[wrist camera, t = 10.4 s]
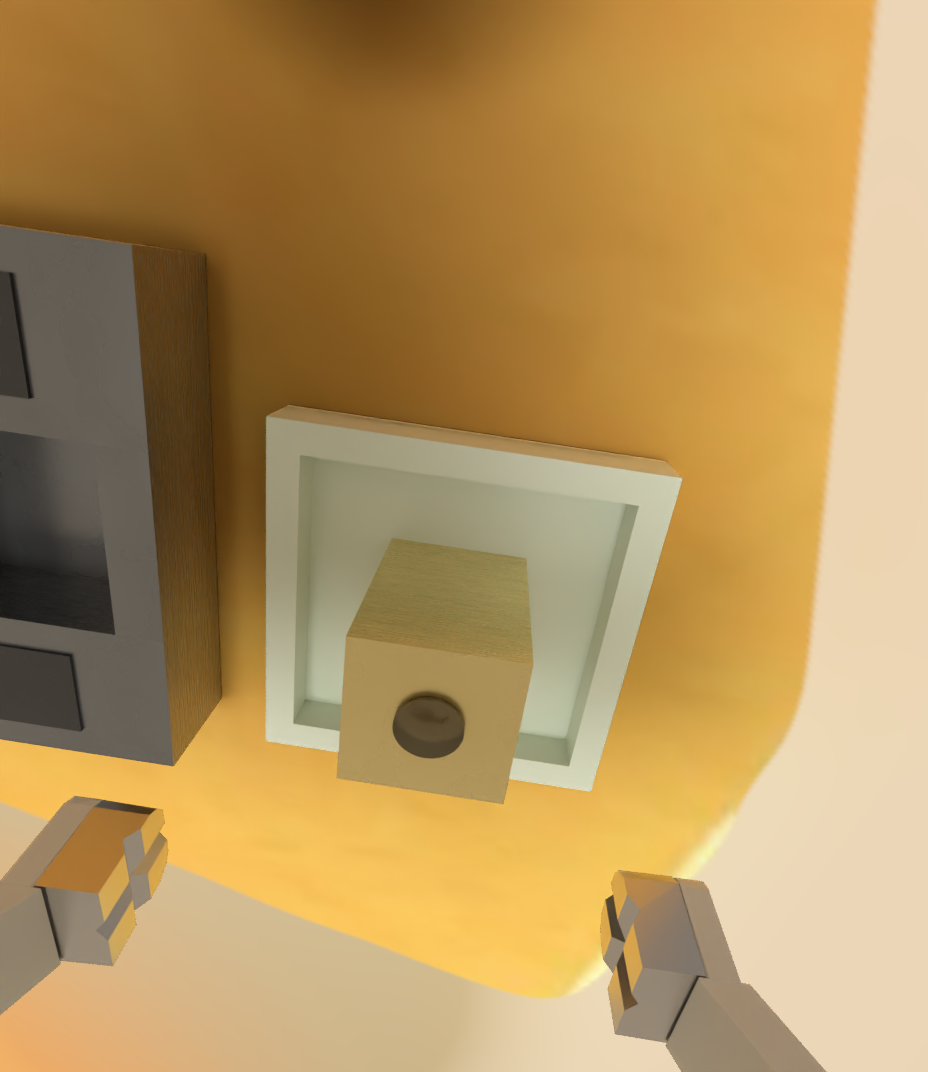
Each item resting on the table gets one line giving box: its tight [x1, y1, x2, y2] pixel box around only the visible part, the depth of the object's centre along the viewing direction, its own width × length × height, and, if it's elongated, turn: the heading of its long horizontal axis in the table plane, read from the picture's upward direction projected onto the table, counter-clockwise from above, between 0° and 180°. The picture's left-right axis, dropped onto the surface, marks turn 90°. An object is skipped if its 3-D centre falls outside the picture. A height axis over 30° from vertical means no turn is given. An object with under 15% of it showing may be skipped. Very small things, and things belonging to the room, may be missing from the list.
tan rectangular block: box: [337, 538, 534, 804], centre depth 17 cm, size 4×4×6 cm
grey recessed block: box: [0, 224, 221, 766], centre depth 18 cm, size 16×9×4 cm, turn 172°
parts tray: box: [266, 405, 683, 792], centre depth 20 cm, size 12×12×2 cm
